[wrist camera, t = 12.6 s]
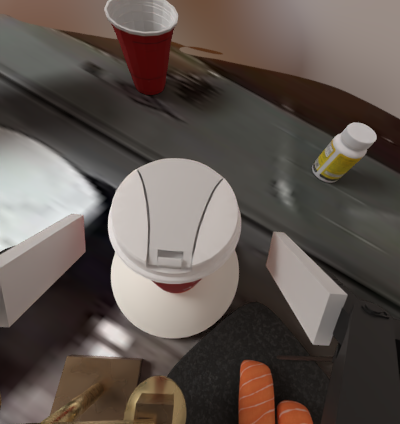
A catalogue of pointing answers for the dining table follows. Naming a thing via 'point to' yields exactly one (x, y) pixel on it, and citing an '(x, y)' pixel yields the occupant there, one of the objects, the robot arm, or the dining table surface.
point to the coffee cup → (174, 222)
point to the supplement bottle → (343, 152)
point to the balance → (114, 394)
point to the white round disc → (174, 300)
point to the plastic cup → (144, 39)
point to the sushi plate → (251, 374)
